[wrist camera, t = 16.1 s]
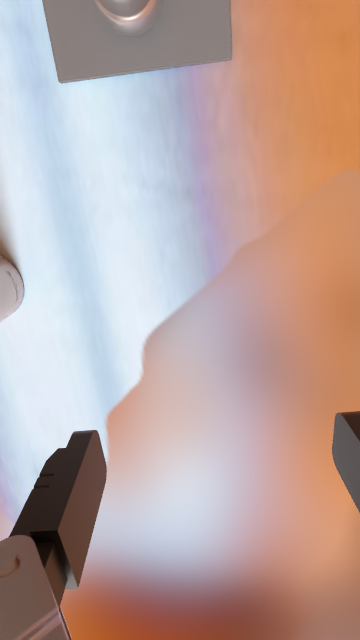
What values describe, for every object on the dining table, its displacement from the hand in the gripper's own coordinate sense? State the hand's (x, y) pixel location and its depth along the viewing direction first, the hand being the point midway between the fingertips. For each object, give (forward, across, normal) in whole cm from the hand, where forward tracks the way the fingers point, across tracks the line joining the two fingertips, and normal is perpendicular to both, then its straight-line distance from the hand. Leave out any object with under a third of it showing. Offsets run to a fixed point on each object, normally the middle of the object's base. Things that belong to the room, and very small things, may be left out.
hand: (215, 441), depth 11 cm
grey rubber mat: (+34, +3, -25) cm, 42 cm away
